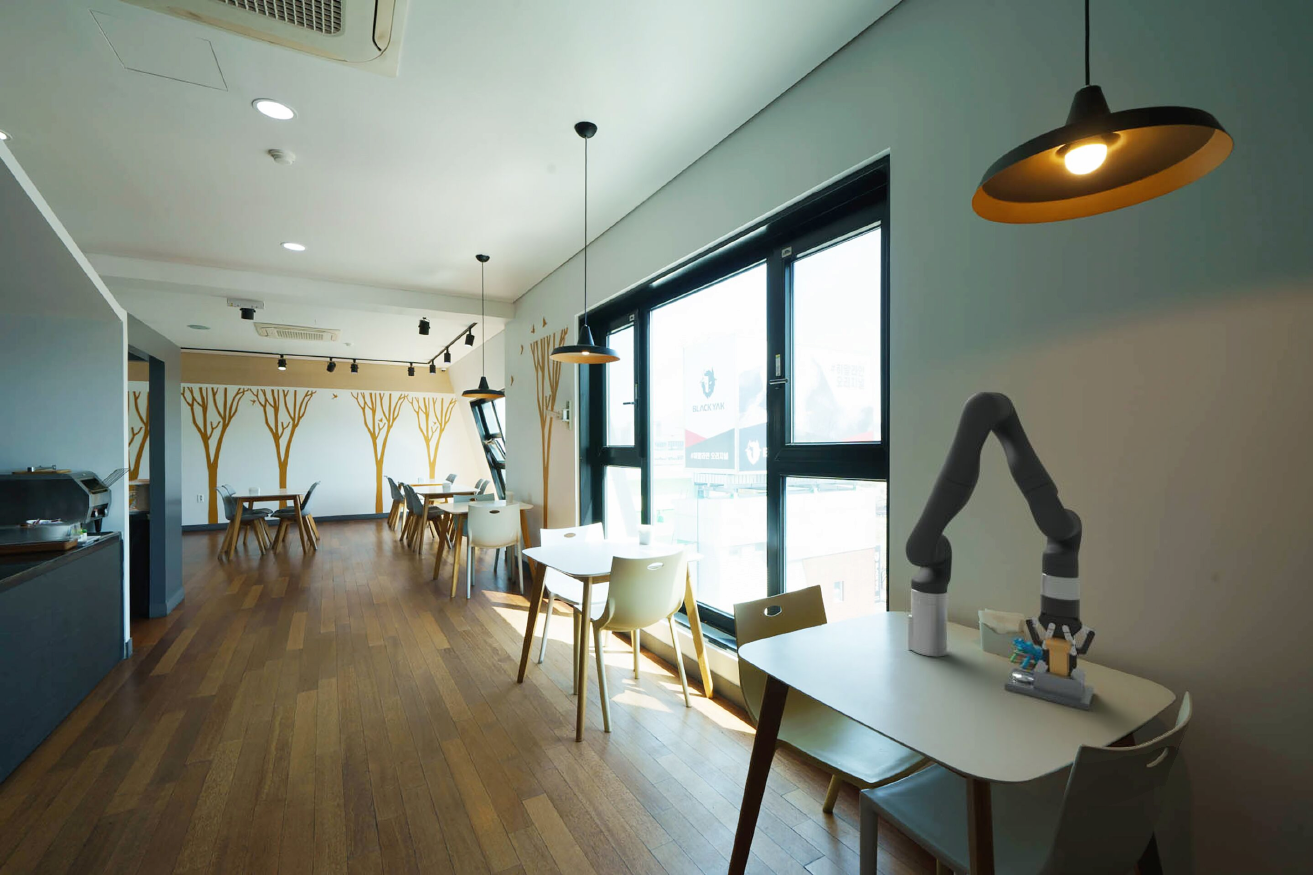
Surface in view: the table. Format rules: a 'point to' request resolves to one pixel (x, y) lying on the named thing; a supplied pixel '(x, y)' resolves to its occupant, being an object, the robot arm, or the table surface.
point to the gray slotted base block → (1052, 686)
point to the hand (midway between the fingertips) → (1059, 666)
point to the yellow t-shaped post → (1058, 655)
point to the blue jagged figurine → (1026, 652)
